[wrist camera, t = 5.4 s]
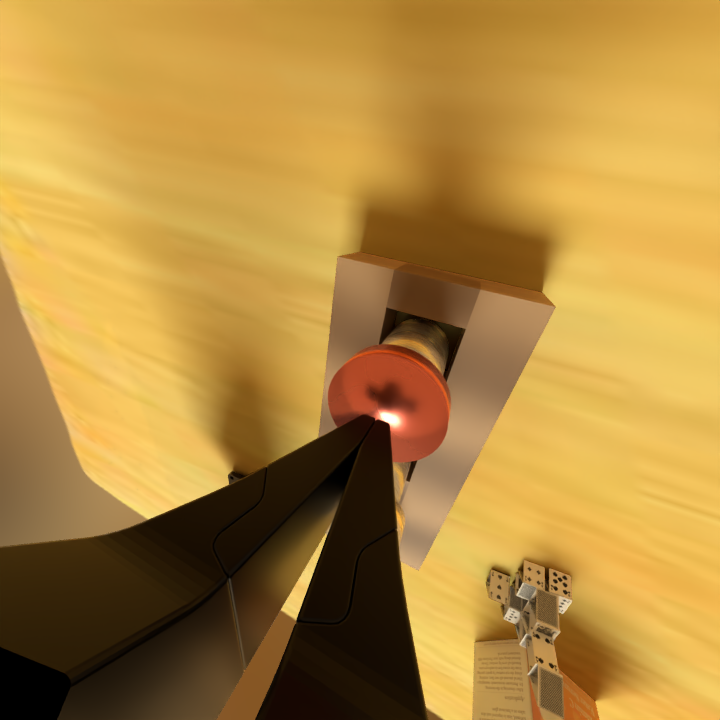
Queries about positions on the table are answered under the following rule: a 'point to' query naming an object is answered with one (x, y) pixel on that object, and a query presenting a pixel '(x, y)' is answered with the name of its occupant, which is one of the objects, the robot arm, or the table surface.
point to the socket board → (464, 376)
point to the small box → (517, 687)
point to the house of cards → (536, 624)
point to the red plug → (399, 388)
